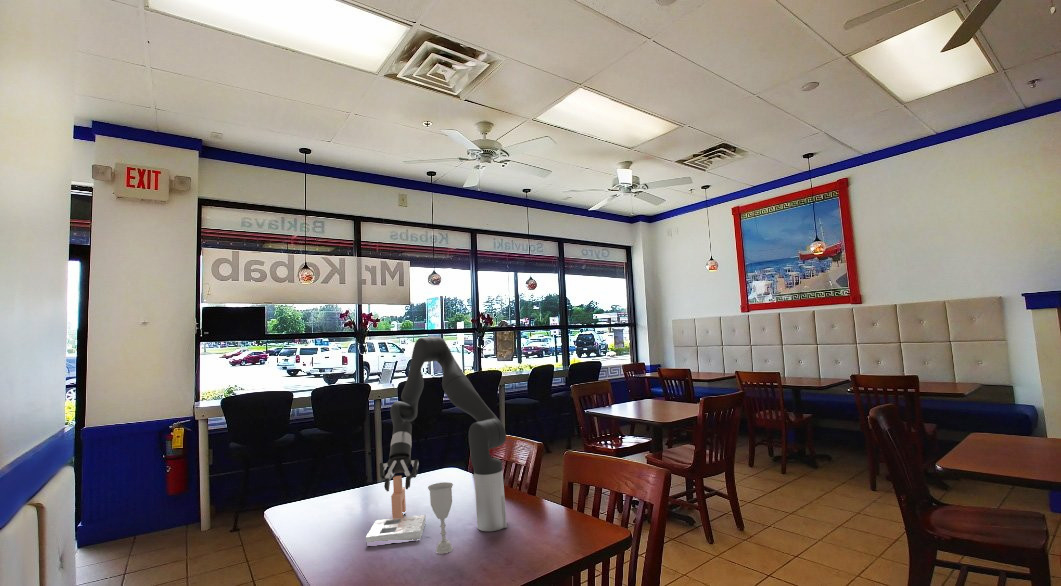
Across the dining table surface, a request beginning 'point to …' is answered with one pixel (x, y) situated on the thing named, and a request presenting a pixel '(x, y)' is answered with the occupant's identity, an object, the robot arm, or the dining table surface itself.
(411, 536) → the plate
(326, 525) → the dining table surface
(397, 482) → the clip
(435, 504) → the chalice
